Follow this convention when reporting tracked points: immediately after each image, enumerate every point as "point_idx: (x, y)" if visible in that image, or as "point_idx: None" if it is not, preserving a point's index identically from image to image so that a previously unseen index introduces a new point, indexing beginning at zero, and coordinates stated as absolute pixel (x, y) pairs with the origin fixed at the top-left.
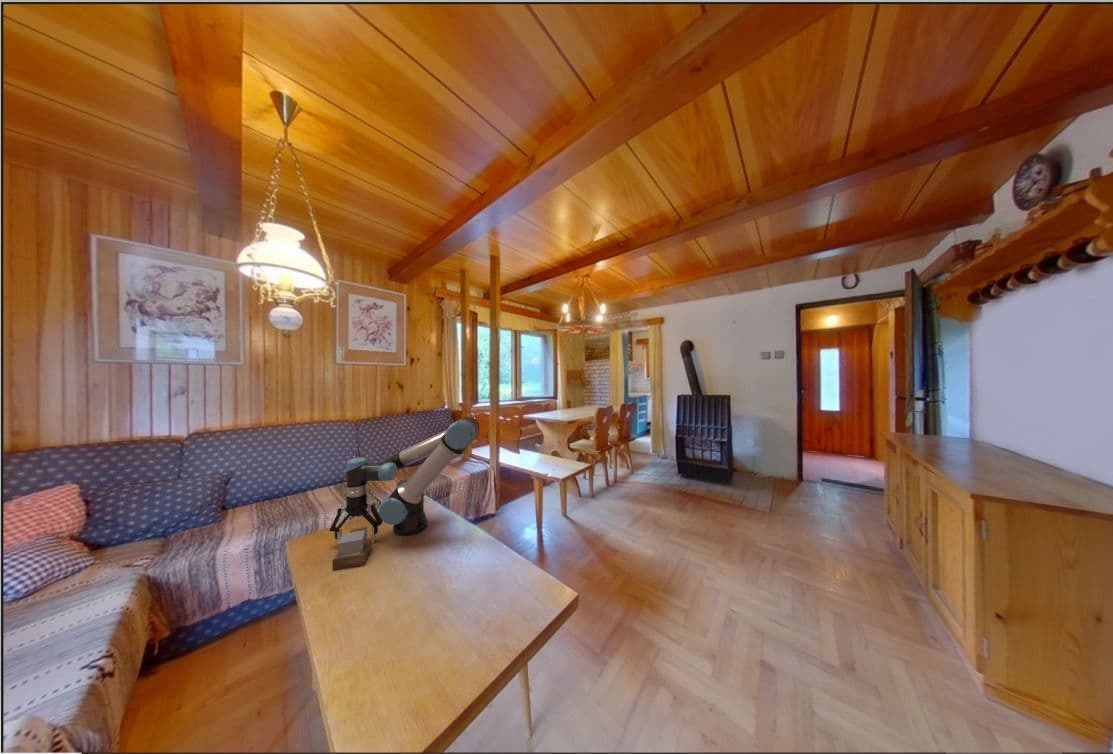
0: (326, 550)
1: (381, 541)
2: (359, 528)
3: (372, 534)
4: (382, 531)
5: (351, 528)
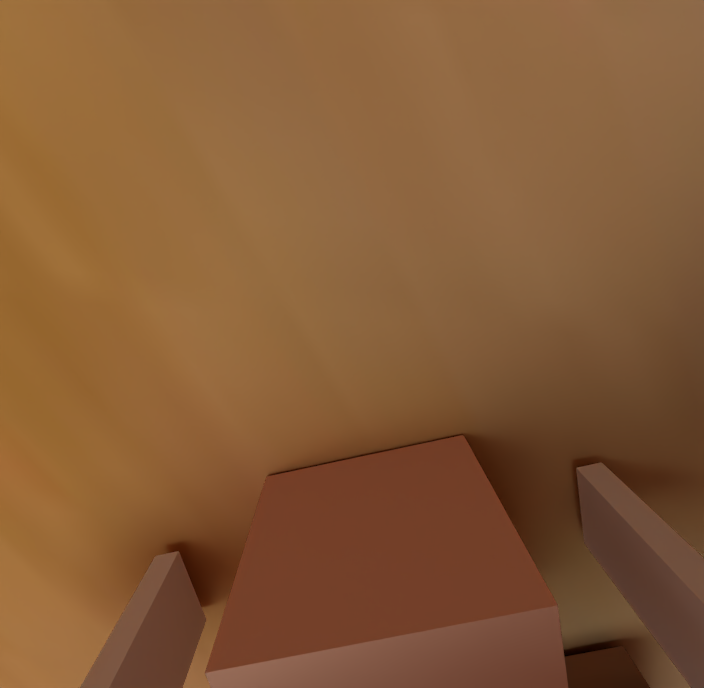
0: (77, 633)
1: (687, 479)
2: (412, 681)
3: (681, 657)
4: (608, 169)
5: (208, 679)
